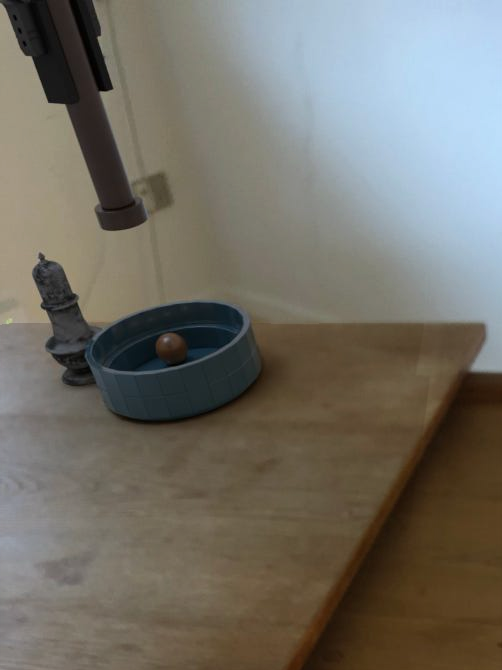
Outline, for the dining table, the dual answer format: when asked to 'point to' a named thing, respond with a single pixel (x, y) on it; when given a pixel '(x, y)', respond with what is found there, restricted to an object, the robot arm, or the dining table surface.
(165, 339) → the brown ball
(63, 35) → the brown pestle
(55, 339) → the salt shaker
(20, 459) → the dining table surface
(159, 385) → the bowl
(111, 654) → the dining table surface
